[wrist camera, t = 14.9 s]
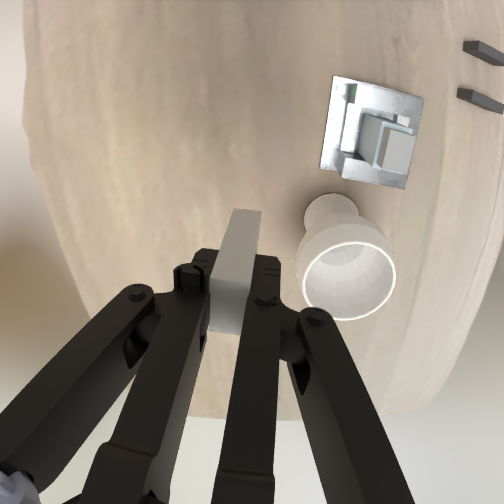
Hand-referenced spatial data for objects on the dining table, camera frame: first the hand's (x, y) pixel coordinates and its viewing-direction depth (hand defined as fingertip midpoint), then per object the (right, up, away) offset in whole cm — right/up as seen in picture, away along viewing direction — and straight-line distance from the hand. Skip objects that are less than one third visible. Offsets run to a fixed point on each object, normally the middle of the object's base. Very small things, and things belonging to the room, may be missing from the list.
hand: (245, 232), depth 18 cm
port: (+15, +14, +19) cm, 28 cm away
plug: (+15, +13, +18) cm, 27 cm away
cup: (+11, +3, +25) cm, 28 cm away
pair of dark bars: (+31, +22, +12) cm, 40 cm away
